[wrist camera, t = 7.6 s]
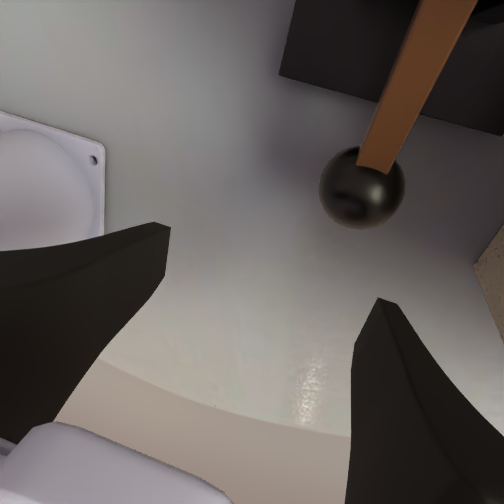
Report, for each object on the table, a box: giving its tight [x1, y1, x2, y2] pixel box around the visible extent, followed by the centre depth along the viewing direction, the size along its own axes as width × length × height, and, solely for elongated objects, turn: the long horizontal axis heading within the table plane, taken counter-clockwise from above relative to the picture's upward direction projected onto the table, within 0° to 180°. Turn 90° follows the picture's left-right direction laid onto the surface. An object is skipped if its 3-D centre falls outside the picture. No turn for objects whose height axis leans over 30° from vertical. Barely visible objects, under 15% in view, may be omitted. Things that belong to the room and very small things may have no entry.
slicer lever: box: [319, 0, 478, 229], centre depth 10 cm, size 12×3×3 cm, turn 166°
